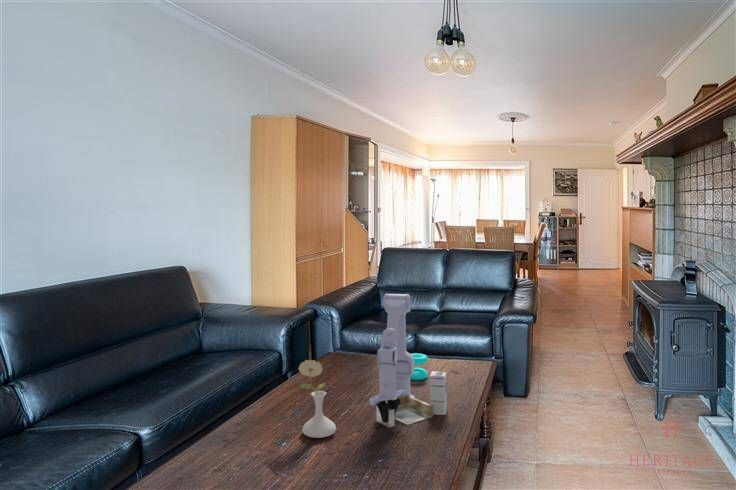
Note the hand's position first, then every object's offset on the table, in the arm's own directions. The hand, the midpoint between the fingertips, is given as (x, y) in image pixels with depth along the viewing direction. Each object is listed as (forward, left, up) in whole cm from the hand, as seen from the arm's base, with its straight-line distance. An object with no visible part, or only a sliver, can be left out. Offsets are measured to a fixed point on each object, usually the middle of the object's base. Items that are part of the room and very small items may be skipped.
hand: (388, 420), depth 170 cm
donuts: (-33, +43, -2) cm, 54 cm away
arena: (-3, +11, -2) cm, 11 cm away
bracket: (-1, +1, -2) cm, 3 cm away
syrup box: (+2, +22, -2) cm, 22 cm away
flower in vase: (-10, -23, -2) cm, 25 cm away
